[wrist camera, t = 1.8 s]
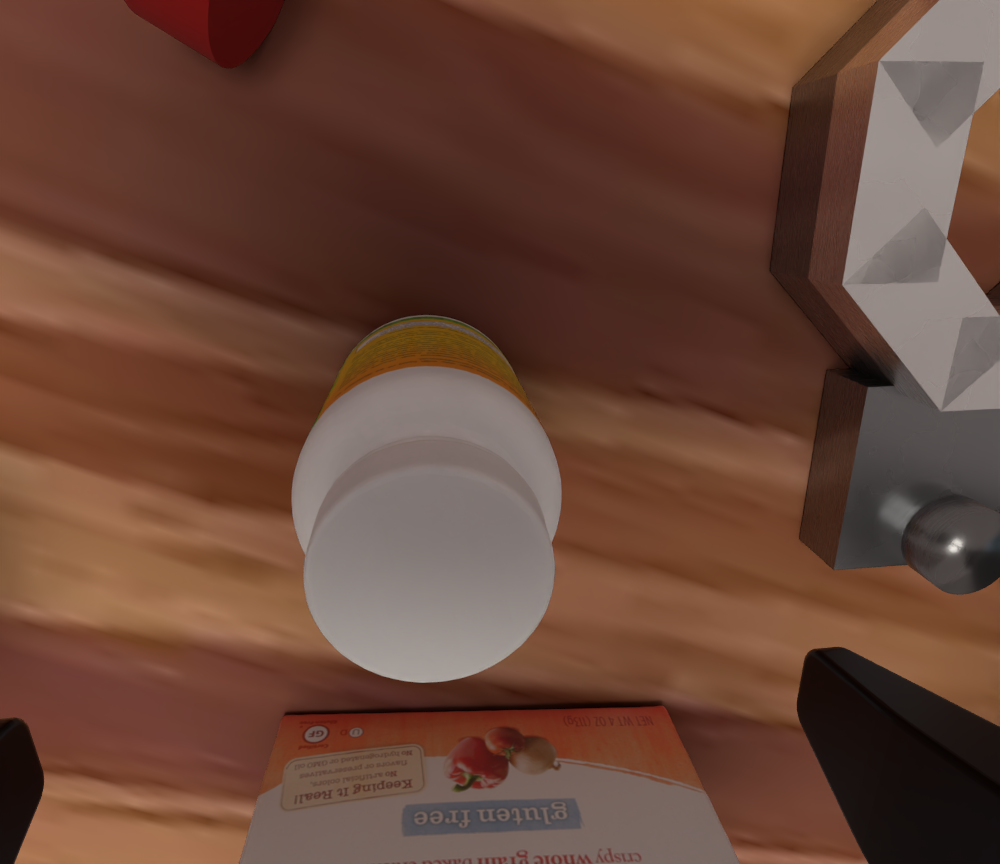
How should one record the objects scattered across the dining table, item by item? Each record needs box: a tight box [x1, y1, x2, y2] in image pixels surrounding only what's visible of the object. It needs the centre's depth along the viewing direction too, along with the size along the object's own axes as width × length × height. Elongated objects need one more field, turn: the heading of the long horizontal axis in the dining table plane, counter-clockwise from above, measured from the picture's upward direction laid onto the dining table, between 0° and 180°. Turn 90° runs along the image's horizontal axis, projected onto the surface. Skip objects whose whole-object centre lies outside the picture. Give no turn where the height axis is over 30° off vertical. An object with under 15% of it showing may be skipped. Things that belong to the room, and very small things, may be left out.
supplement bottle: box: [292, 315, 562, 683], centre depth 15 cm, size 5×5×10 cm
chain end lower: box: [770, 0, 1000, 595], centre depth 18 cm, size 18×12×3 cm, turn 1°
